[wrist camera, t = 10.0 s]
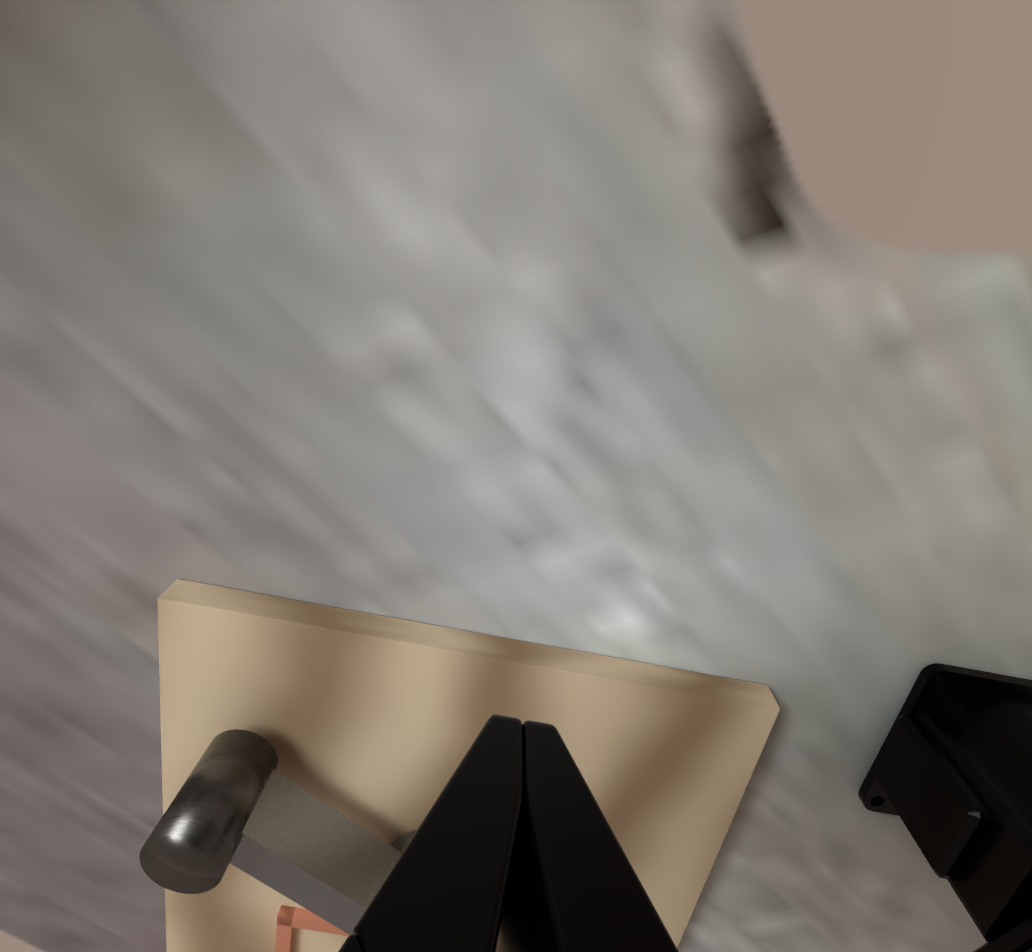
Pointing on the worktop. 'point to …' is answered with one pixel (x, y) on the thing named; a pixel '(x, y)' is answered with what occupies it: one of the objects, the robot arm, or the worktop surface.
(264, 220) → the worktop surface
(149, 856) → the bell crank
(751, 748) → the board
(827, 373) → the worktop surface
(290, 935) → the level window
